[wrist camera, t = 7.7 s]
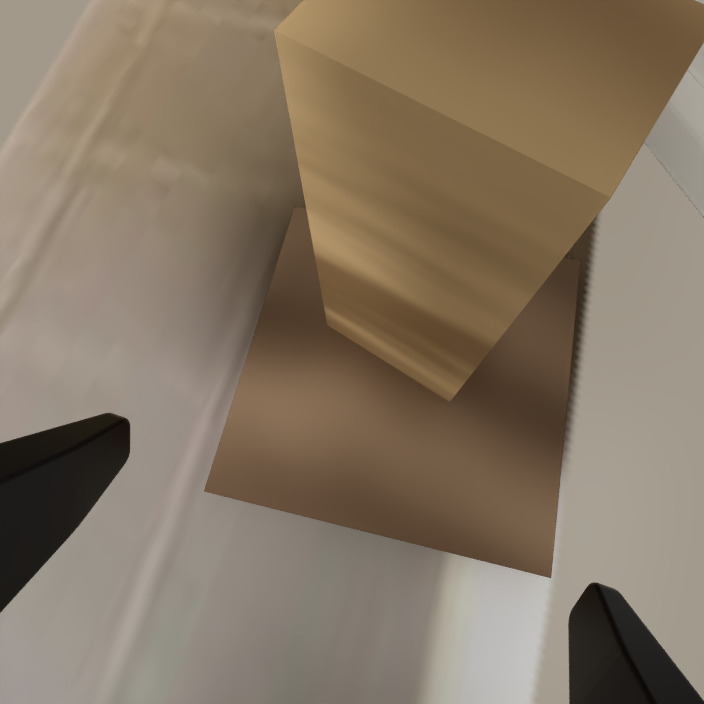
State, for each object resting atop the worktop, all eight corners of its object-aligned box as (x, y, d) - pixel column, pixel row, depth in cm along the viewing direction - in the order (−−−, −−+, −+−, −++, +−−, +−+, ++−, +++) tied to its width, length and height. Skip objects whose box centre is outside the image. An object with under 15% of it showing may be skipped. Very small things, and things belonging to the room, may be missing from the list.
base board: (540, 574, 17) (551, 577, 16) (212, 492, 18) (204, 491, 17) (570, 272, 20) (580, 260, 19) (297, 219, 21) (294, 206, 20)
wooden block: (449, 402, 18) (610, 197, 6) (327, 324, 19) (273, 29, 7) (508, 308, 19) (733, -8, 7) (389, 240, 20) (427, -127, 8)
